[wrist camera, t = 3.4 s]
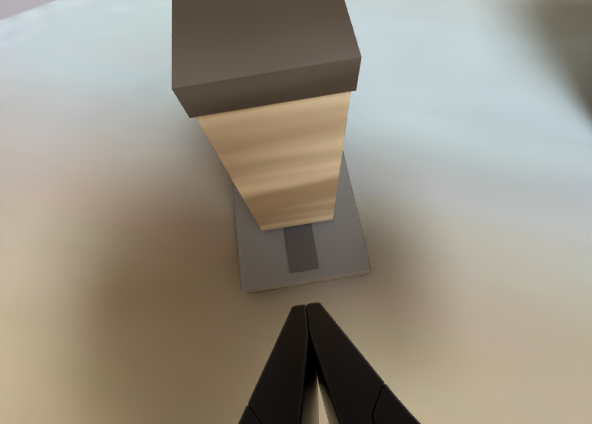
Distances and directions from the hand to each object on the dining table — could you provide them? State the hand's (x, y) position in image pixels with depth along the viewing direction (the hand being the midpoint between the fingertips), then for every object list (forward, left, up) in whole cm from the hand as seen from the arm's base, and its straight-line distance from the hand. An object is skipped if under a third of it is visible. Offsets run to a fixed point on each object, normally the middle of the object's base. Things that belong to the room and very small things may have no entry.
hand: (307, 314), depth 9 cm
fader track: (+7, +7, -8) cm, 13 cm away
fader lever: (+5, +5, -6) cm, 9 cm away
